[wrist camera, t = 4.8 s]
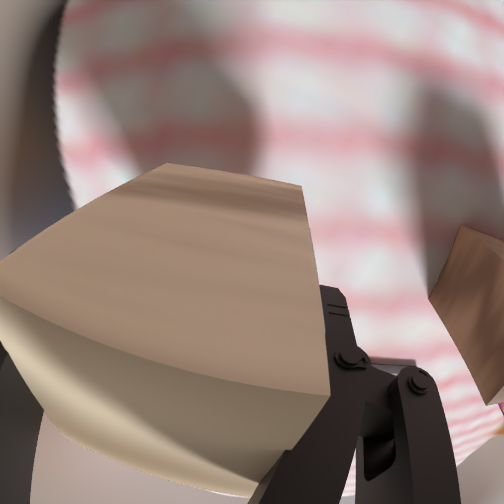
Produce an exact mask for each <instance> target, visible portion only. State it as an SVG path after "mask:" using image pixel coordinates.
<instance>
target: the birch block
mask: <svg viewBox="0 0 504 504" xmlns="http://www.w3.org/2000/svg"><path fill="white" fill-rule="evenodd" d="M0 341H1V343H2V345H3V347H4V349H5V350H6V351H7V352H8V353H9V355H10V357H11V358H12V360H13V362H14V364H15V366H16V367H17V369H18V371H19V372H20V374H21V376H22V377H23V379H24V381H25V382H26V384H27V385H28V387H29V389H30V390H31V392H32V393H33V395H34V396H35V398H36V399H37V401H38V402H39V403H40V405H41V406H42V408H43V409H44V413H45V414H46V415H47V417H48V418H49V419H50V420H51V422H52V423H53V424H54V426H55V427H56V428H57V429H58V431H59V432H60V433H61V434H62V435H63V436H64V437H66V438H68V439H70V440H72V441H73V442H75V443H77V444H79V445H81V446H83V447H85V448H87V449H89V450H91V451H93V452H96V453H98V454H100V455H102V456H104V457H106V458H109V459H111V460H113V461H116V462H118V463H121V464H123V465H126V466H128V467H131V468H134V469H136V470H139V471H142V472H145V473H148V474H151V475H154V476H157V477H160V478H163V479H166V480H170V481H174V482H177V483H180V484H184V485H188V486H192V487H196V488H201V489H205V490H210V491H215V492H220V493H226V494H231V495H238V496H245V497H251V496H252V495H253V493H254V491H255V489H256V488H257V486H258V484H259V482H260V481H261V480H262V479H263V478H264V476H265V475H266V474H267V473H268V472H269V470H270V469H271V468H272V466H273V465H274V464H275V463H276V461H277V460H278V459H279V457H280V456H281V455H282V454H283V452H284V451H285V450H292V449H293V447H294V446H295V445H296V444H297V442H298V441H299V440H300V438H301V437H302V436H303V434H304V433H305V432H306V430H307V429H308V428H309V426H310V425H311V423H312V422H313V421H314V419H315V418H316V416H317V415H318V413H319V412H320V411H321V409H322V408H323V406H324V405H325V403H326V402H327V400H328V399H329V397H330V396H331V394H330V382H329V371H328V361H327V351H326V342H325V333H324V324H323V316H322V308H321V301H320V294H319V286H318V279H317V273H316V266H315V260H314V253H313V247H312V241H311V235H310V230H309V224H308V218H307V213H306V207H305V202H304V197H303V192H302V187H301V186H299V185H294V184H290V183H285V182H280V181H275V180H270V179H265V178H260V177H254V176H249V175H244V174H238V173H232V172H226V171H220V170H214V169H207V168H201V167H194V166H187V165H180V164H172V163H166V164H163V165H161V166H159V167H157V168H155V169H153V170H151V171H149V172H146V173H144V174H142V175H140V176H138V177H136V178H134V179H132V180H130V181H128V182H126V183H124V184H123V185H121V186H119V187H117V188H115V189H113V190H111V191H109V192H107V193H106V194H104V195H102V196H100V197H98V198H97V199H95V200H93V201H91V202H89V203H88V204H86V205H84V206H83V207H81V208H79V209H77V210H76V211H74V212H72V213H71V214H69V215H67V216H66V217H65V218H63V219H61V220H59V221H58V222H56V223H55V224H53V225H52V226H50V227H48V228H47V229H45V230H44V231H42V232H41V233H39V234H38V235H36V236H35V237H33V238H32V239H31V240H29V241H28V242H26V243H25V244H23V245H22V246H20V247H19V248H18V249H16V250H15V251H14V252H12V253H11V254H9V255H8V256H7V257H6V258H4V259H3V260H1V261H0Z"/></svg>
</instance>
